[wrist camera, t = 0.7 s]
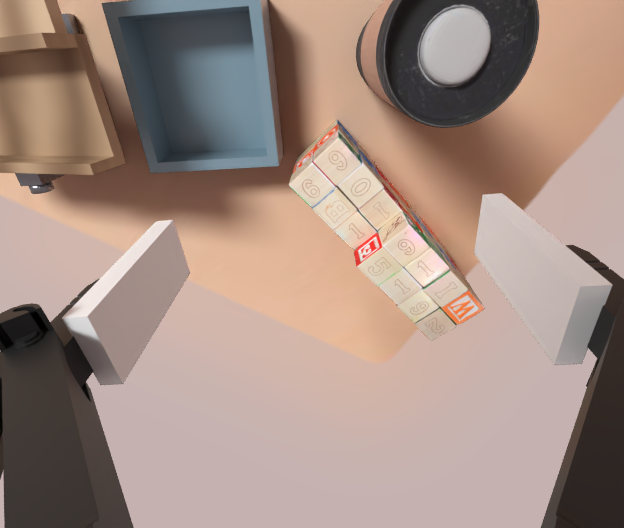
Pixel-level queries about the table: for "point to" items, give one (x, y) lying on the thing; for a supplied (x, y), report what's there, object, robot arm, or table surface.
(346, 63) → the table surface
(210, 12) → the tub
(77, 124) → the chute
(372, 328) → the table surface
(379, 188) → the stack of blocks
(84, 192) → the table surface
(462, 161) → the table surface
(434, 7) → the travel mug
